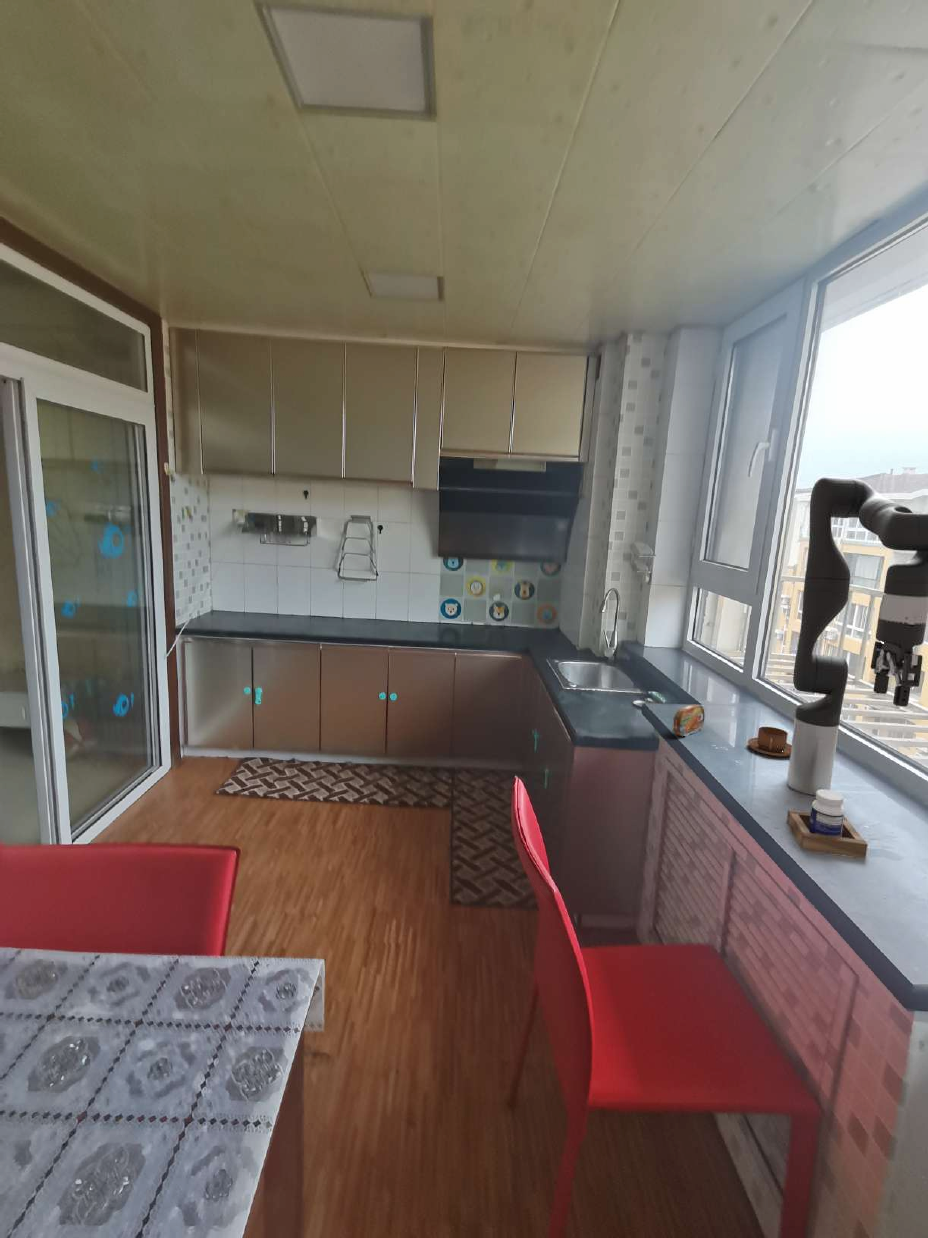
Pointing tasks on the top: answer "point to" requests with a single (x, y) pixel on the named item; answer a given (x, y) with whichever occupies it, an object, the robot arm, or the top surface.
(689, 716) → the tin
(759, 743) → the cup and saucer
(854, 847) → the socket block
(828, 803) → the pill bottle
